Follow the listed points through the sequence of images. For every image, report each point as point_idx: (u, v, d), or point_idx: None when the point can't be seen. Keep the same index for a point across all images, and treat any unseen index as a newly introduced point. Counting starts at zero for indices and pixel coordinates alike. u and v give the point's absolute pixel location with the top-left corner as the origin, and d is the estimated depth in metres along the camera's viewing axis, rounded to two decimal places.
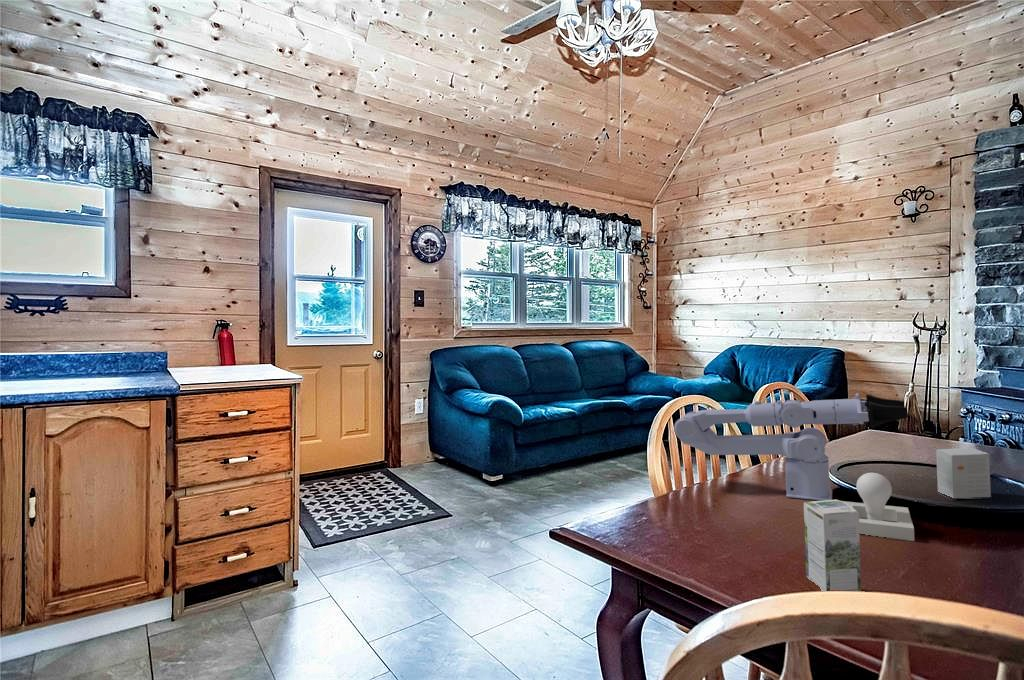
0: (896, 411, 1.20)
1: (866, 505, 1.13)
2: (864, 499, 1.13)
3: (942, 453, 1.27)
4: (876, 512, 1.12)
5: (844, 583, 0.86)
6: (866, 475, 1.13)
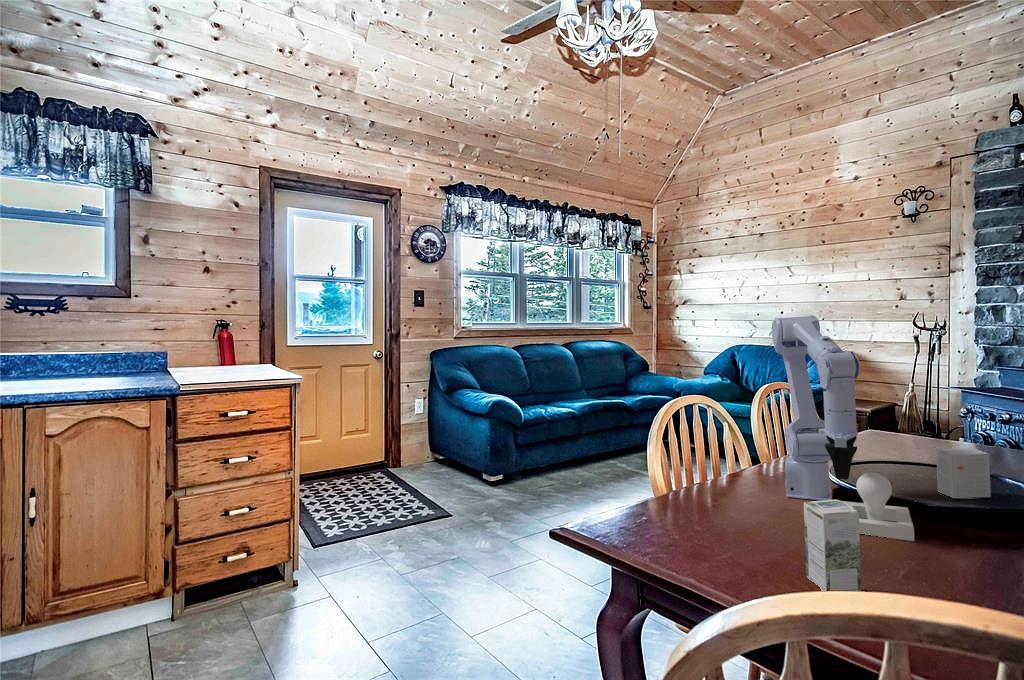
0: None
1: (866, 505, 1.13)
2: (864, 499, 1.13)
3: (942, 453, 1.27)
4: (876, 512, 1.12)
5: (844, 583, 0.86)
6: (866, 475, 1.13)
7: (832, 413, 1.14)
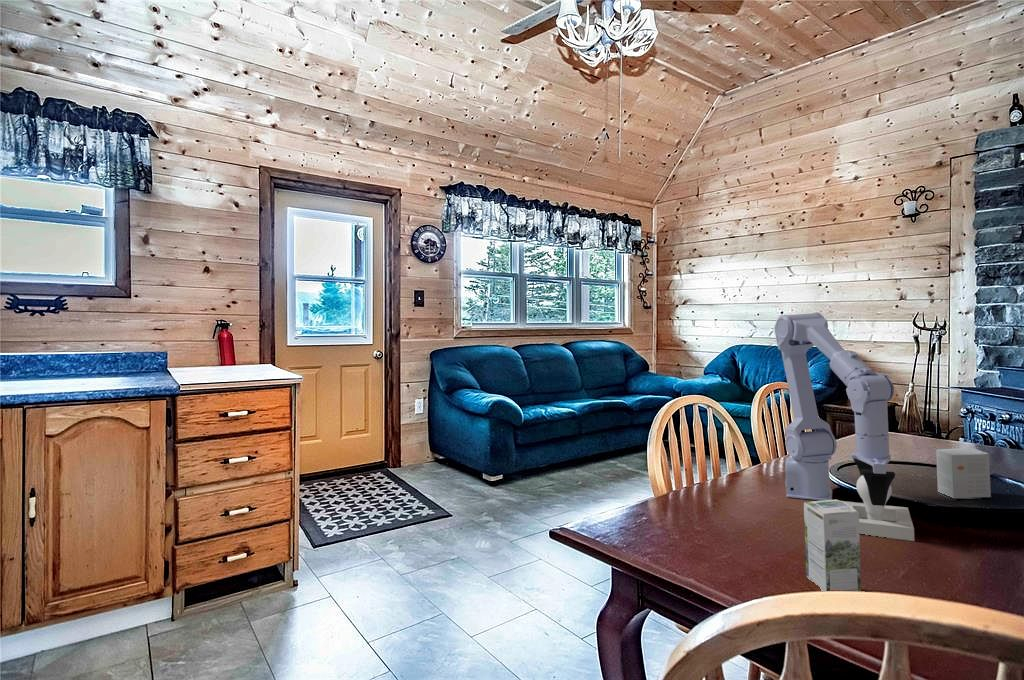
0: None
1: (866, 505, 1.13)
2: (864, 499, 1.13)
3: (942, 453, 1.27)
4: (876, 512, 1.12)
5: (844, 583, 0.86)
6: None
7: (866, 437, 1.11)
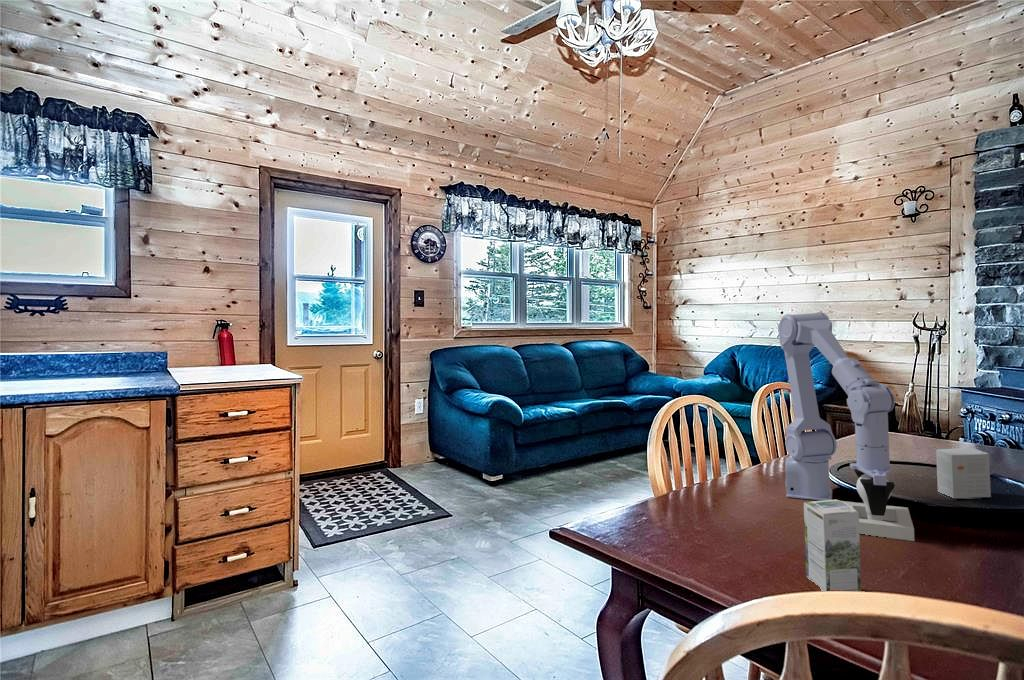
0: None
1: (866, 505, 1.13)
2: (864, 499, 1.13)
3: (942, 453, 1.27)
4: None
5: (844, 583, 0.86)
6: (866, 475, 1.13)
7: (867, 448, 1.11)
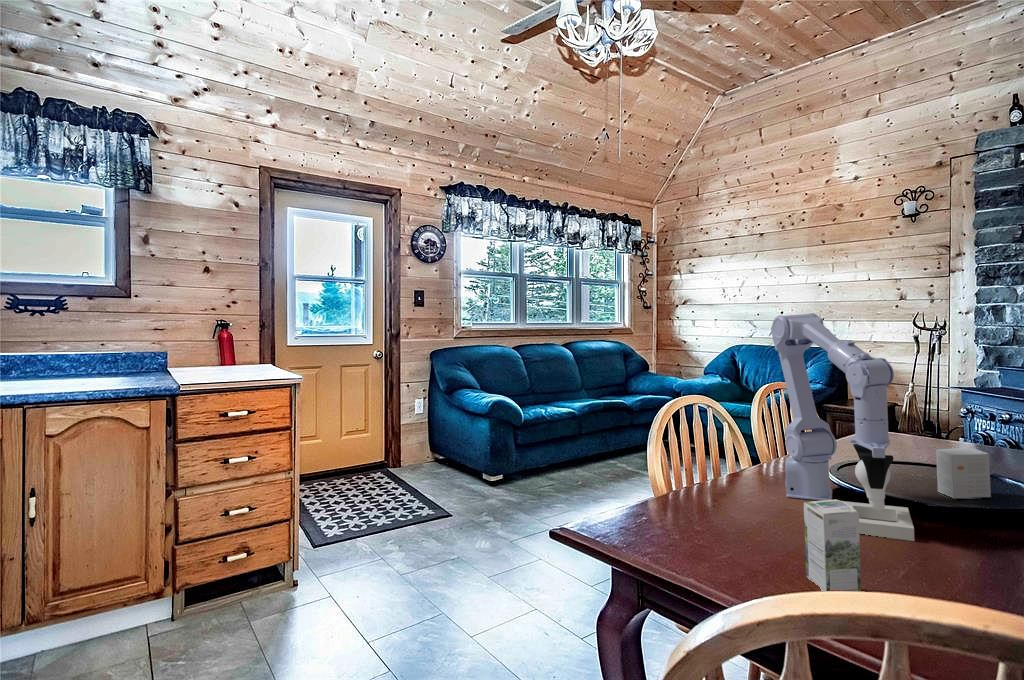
0: None
1: (866, 491, 1.13)
2: (864, 485, 1.13)
3: (942, 453, 1.27)
4: (877, 497, 1.12)
5: (844, 583, 0.86)
6: None
7: (865, 422, 1.11)
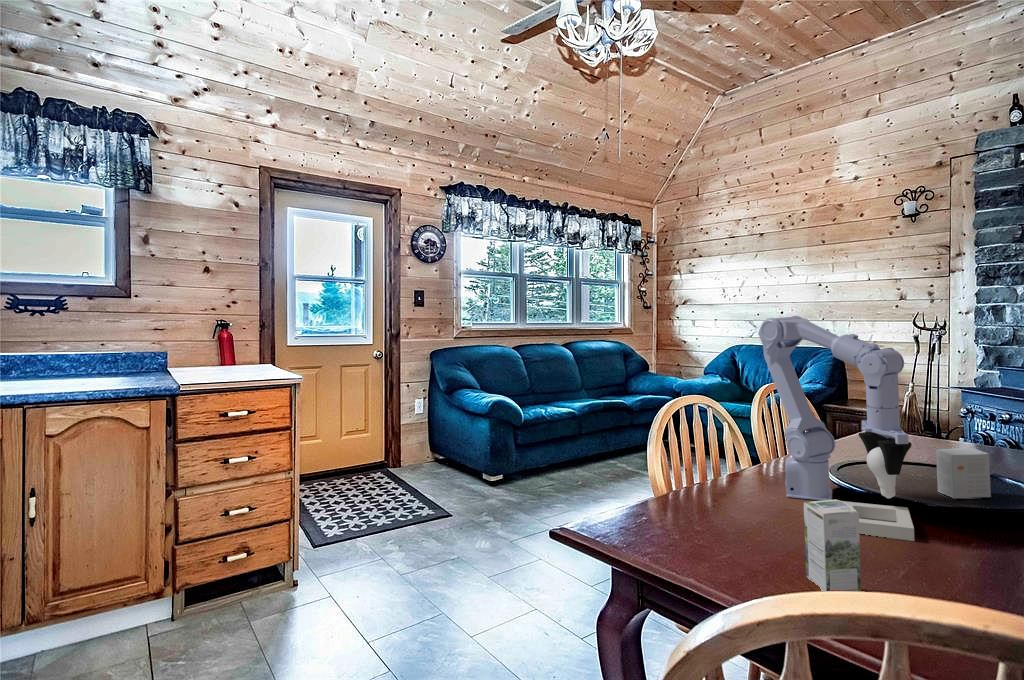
0: None
1: (880, 479, 1.16)
2: (878, 474, 1.16)
3: (942, 453, 1.27)
4: (891, 485, 1.15)
5: (844, 583, 0.86)
6: (877, 450, 1.16)
7: (882, 410, 1.14)
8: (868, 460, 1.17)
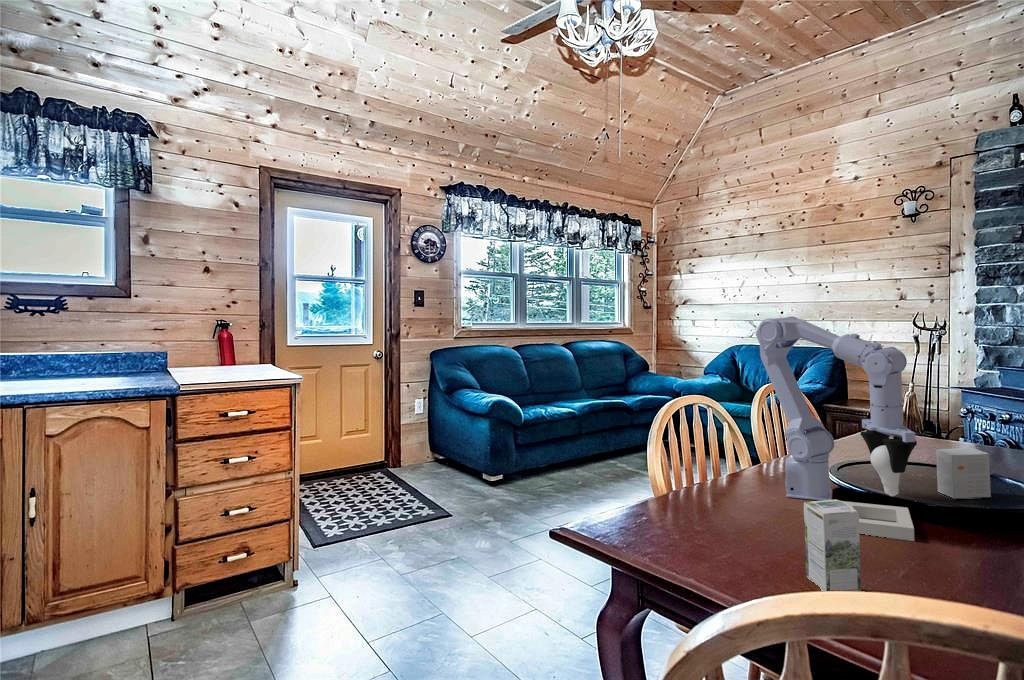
0: None
1: (884, 478, 1.17)
2: (883, 472, 1.16)
3: (942, 453, 1.27)
4: (895, 483, 1.16)
5: (844, 583, 0.86)
6: (881, 449, 1.17)
7: (887, 409, 1.14)
8: (873, 459, 1.17)
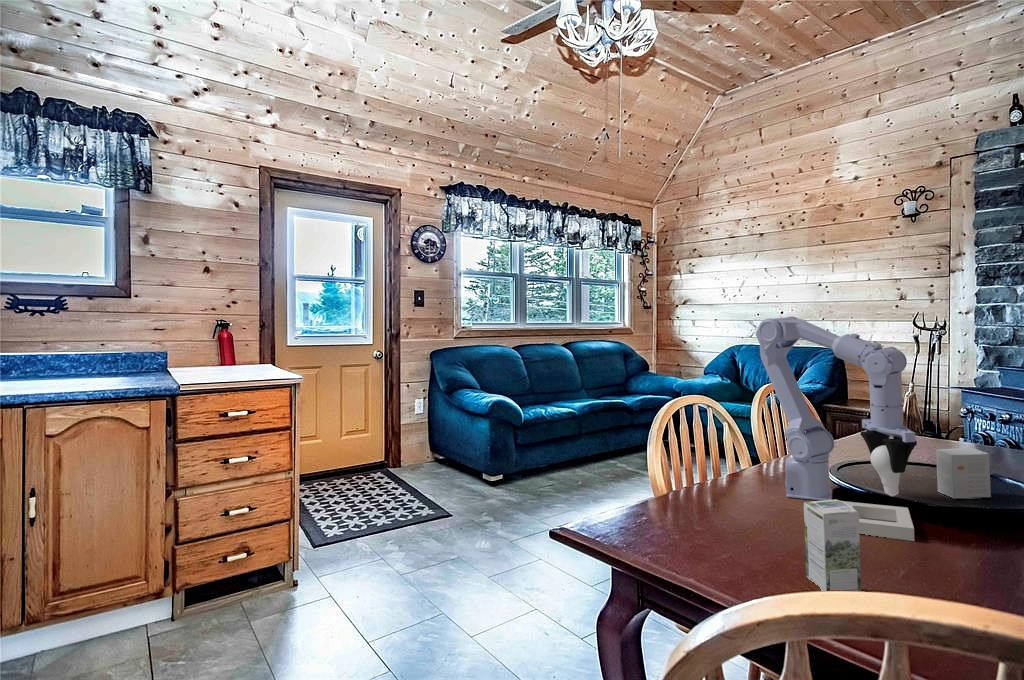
0: None
1: (884, 478, 1.17)
2: (883, 472, 1.16)
3: (942, 453, 1.27)
4: (895, 483, 1.16)
5: (844, 583, 0.86)
6: (881, 449, 1.17)
7: (887, 409, 1.14)
8: (873, 459, 1.17)
